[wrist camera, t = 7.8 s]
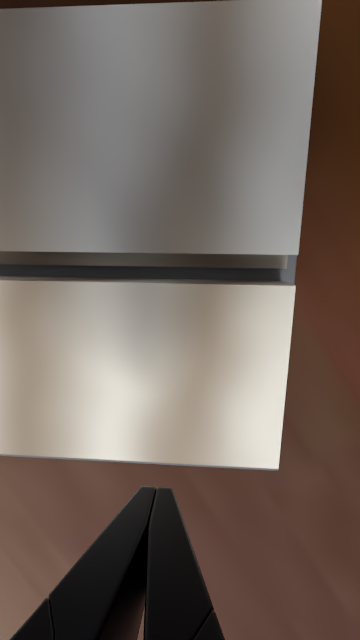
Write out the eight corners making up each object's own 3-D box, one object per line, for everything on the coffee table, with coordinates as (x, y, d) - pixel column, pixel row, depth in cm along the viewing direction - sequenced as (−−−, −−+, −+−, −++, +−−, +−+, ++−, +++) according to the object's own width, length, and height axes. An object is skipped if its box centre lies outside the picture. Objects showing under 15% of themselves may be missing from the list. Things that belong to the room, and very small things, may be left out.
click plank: (281, 280, 12) (295, 285, 10) (268, 440, 13) (278, 469, 12) (-150, 273, 13) (-204, 276, 11) (-117, 421, 15) (-160, 445, 13)
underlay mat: (311, 35, 11) (318, 23, 10) (273, 461, 14) (276, 470, 14) (-191, 50, 12) (-212, 39, 11) (-108, 441, 15) (-120, 449, 15)
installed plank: (301, 40, 10) (322, -4, 8) (282, 267, 12) (296, 270, 10) (-195, 55, 11) (-268, 18, 10) (-151, 261, 13) (-206, 262, 11)
